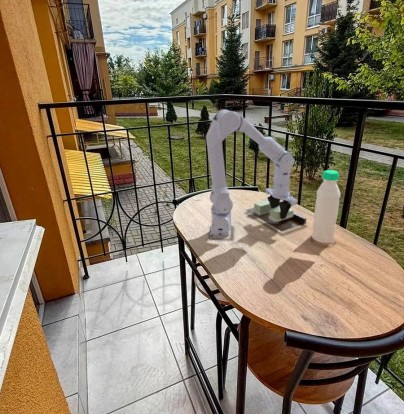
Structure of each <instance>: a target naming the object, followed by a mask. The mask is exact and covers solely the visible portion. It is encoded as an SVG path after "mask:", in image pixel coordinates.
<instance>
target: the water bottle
mask: <svg viewBox="0 0 404 414" xmlns="http://www.w3.org/2000/svg"><path fill="white" fill-rule="evenodd" d="M321 178H322V182H321V184H320V186H319V187H318V188H317V190H316V198H315V205H314V213H313V214H314V215H313V216H314V217H313V223H312V232H311V238H312V239H313V240H314V241H316V242H318V243H322V244H330V243H331V245H333V244H334V241H335V234H336V233H335V232H336V229H337V225H336V223H337V220H338V214H339V208H340V198H341V191H340V188H339V184H338V181H339V179H340V173H339V172H338V171H337V170H332V169H327V170H324V171H323V172H322V176H321Z"/></svg>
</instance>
